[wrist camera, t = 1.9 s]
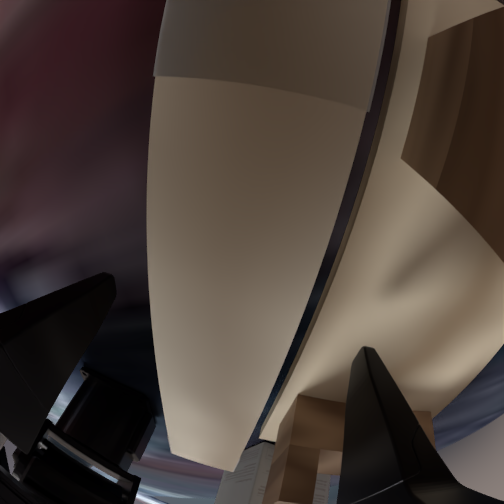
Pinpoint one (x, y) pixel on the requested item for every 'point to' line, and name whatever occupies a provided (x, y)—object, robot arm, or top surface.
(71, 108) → the top surface
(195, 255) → the rail
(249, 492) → the supplement box
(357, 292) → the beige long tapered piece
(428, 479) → the robot arm
